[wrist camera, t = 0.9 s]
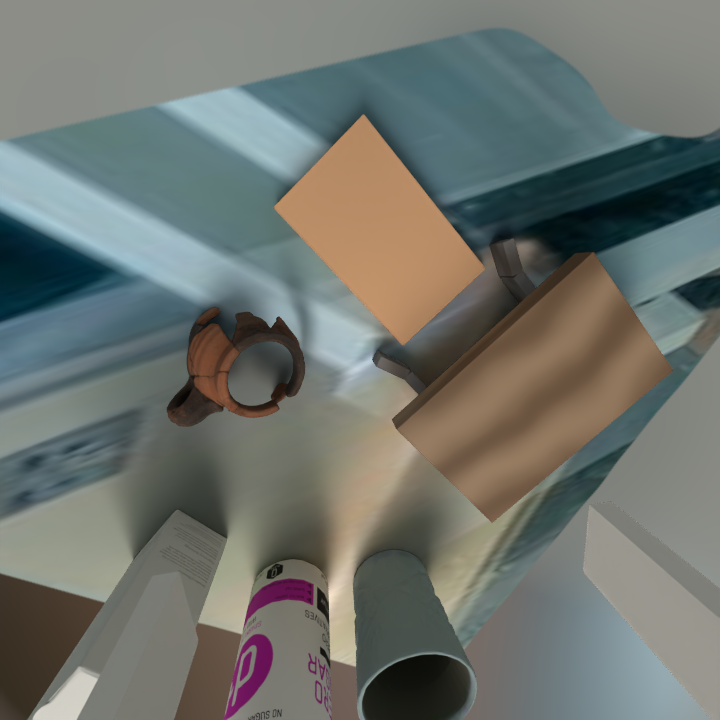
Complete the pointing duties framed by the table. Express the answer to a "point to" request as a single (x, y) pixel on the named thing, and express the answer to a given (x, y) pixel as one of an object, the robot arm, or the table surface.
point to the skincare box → (159, 556)
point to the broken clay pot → (214, 360)
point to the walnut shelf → (531, 382)
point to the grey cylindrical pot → (406, 645)
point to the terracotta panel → (380, 232)
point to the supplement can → (284, 647)
